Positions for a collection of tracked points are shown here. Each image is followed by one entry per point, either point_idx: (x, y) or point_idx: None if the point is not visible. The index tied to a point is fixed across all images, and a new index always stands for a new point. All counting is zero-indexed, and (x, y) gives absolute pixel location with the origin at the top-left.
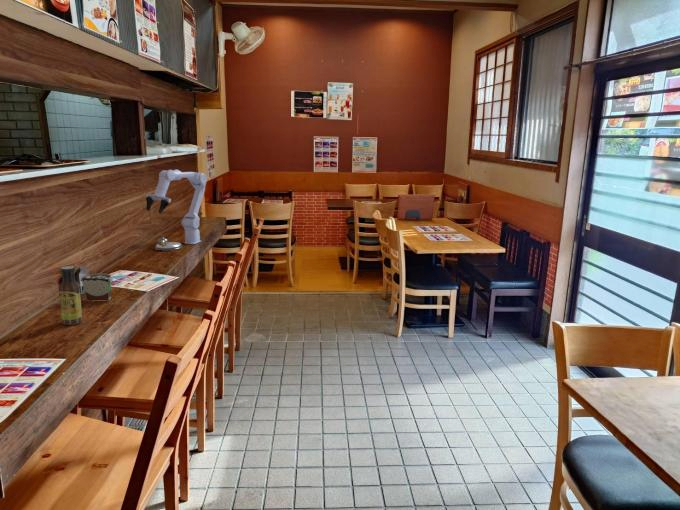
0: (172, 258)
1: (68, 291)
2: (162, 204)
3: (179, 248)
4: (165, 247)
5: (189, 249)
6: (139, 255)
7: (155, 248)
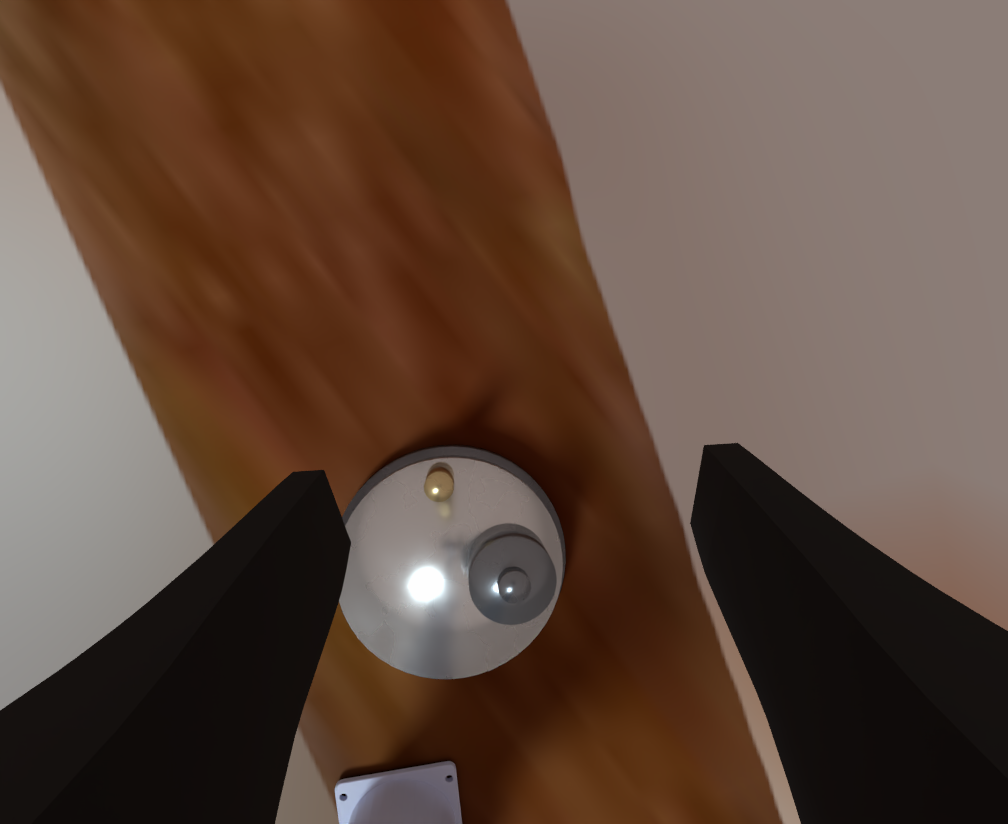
0: (165, 229)
1: None
2: (42, 699)
3: None
4: (409, 465)
5: None
6: (513, 239)
7: (532, 478)
